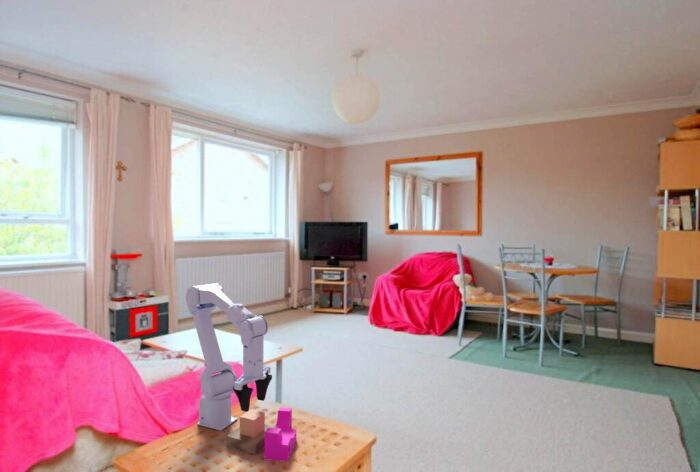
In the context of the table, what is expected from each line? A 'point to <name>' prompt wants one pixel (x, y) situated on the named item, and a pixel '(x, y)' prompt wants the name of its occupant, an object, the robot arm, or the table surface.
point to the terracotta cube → (252, 423)
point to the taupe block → (247, 441)
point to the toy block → (280, 437)
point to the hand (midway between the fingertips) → (253, 405)
